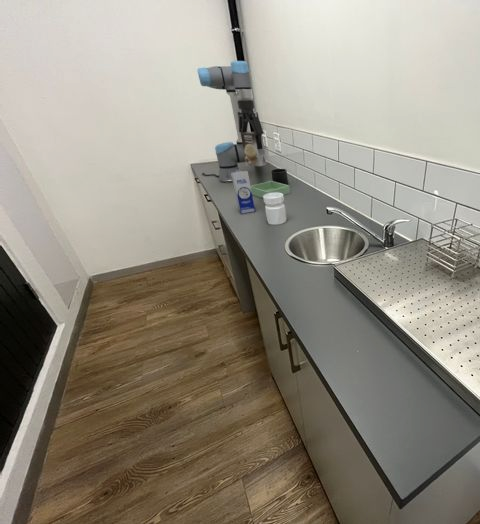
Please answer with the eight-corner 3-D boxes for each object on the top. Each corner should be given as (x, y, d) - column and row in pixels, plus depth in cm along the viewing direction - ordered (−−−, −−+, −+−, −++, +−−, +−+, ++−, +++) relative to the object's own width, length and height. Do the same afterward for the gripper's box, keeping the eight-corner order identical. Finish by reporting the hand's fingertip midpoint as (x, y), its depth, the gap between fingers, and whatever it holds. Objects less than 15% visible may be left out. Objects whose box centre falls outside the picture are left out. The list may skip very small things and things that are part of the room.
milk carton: (240, 214, 142) (231, 172, 132) (238, 210, 148) (229, 169, 138) (255, 211, 145) (247, 170, 135) (252, 207, 150) (245, 167, 140)
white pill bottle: (277, 226, 129) (273, 199, 123) (263, 222, 133) (258, 196, 127) (290, 219, 135) (287, 194, 129) (276, 216, 139) (273, 191, 133)
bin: (250, 193, 171) (248, 186, 169) (272, 187, 181) (271, 180, 179) (268, 199, 161) (266, 191, 159) (290, 193, 171) (289, 185, 169)
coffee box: (245, 165, 156) (239, 133, 148) (252, 163, 161) (247, 131, 153) (260, 166, 153) (255, 133, 145) (267, 164, 158) (262, 131, 150)
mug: (286, 181, 194) (284, 167, 190) (289, 185, 185) (287, 171, 180) (271, 182, 191) (269, 168, 187) (274, 187, 182) (272, 172, 177)
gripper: (225, 100, 146) (235, 147, 157) (252, 99, 133) (260, 151, 144) (238, 99, 150) (247, 145, 162) (266, 99, 138) (273, 149, 149)
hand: (253, 148), depth 153 cm, fingers closed on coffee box, 10 cm apart
